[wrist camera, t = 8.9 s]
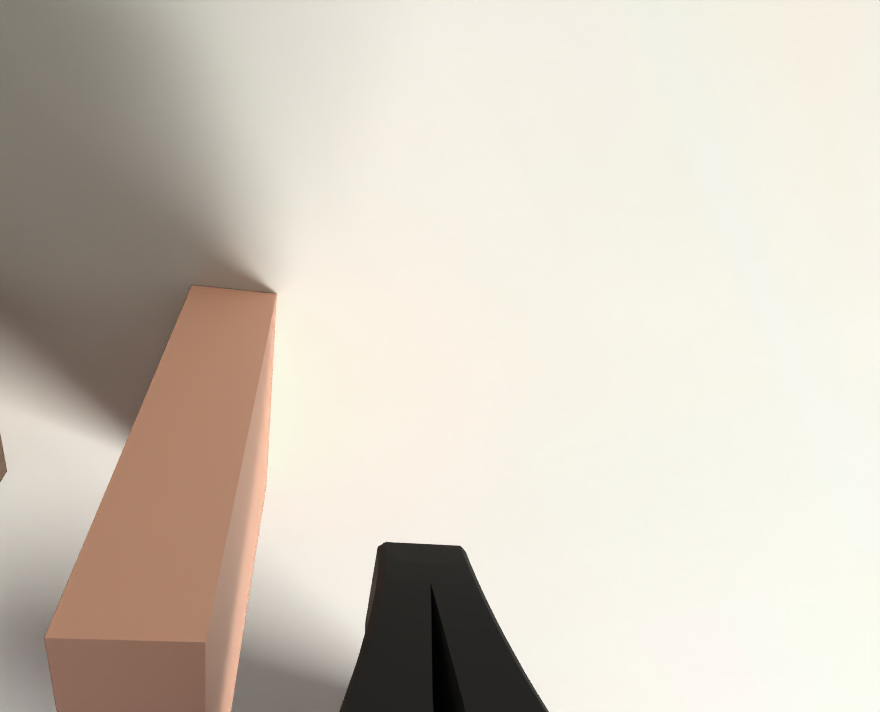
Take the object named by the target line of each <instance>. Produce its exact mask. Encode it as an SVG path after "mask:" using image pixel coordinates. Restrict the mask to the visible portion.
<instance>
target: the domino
mask: <svg viewBox="0 0 880 712" xmlns="http://www.w3.org/2000/svg"><path fill="white" fill-rule="evenodd" d="M6 472H7V468H6V463H5V458H4V452H3V447H2V441H1V436H0V482H1V480H2V479H3V477H4V475H5V474H6Z"/></svg>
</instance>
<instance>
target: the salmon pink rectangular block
mask: <svg viewBox="0 0 880 712" xmlns="http://www.w3.org/2000/svg"><path fill="white" fill-rule="evenodd" d="M276 296H277V294H274V293H264V292H254V291H244V290H234V289H224V288H214V287H204V286H195V285H192V286H191V288H190V291H189V293H188V296H187V298H186V300H185V303H184V305H183V308H182V310H181V312H180V315H179V317H178V320H177V322H176V324H175V327H174V329H173V331H172V334H171V336H170V339H169V341H168V343H167V346H166V348H165V351H164V353H163V355H162V358H161V360H160V363H159V365H158V367H157V370H156V372H155V374H154V377H153V379H152V382H151V384H150V386H149V389H148V391H147V394H146V396H145V398H144V401H143V403H142V406H141V408H140V410H139V413H138V415H137V417H136V420H135V422H134V425H133V427H132V429H131V432H130V434H129V437H128V439H127V441H126V444H125V446H124V449H123V451H122V453H121V456H120V458H119V461H118V463H117V465H116V468H115V470H114V472H113V475H112V477H111V480H110V482H109V484H108V487H107V489H106V492H105V494H104V496H103V499H102V501H101V504H100V506H99V508H98V511H97V513H96V515H95V518H94V520H93V523H92V525H91V527H90V530H89V532H88V535H87V537H86V539H85V542H84V544H83V547H82V549H81V551H80V554H79V556H78V558H77V561H76V563H75V566H74V568H73V570H72V573H71V575H70V578H69V580H68V582H67V585H66V587H65V590H64V592H63V594H62V597H61V599H60V601H59V604H58V606H57V609H56V611H55V613H54V616H53V618H52V621H51V623H50V625H49V628H48V630H47V633H46V635H45V637H44V639H45V645H46V651H47V657H48V663H49V669H50V674H51V680H52V686H53V692H54V698H55V704H56V710H57V712H231V708H232V702H233V696H234V689H235V683H236V676H237V670H238V664H239V657H240V651H241V645H242V638H243V632H244V625H245V619H246V613H247V606H248V600H249V593H250V587H251V581H252V574H253V568H254V561H255V555H256V549H257V542H258V536H259V529H260V523H261V517H262V510H263V504H264V497H265V491H266V481H267V463H268V444H269V426H270V407H271V389H272V370H273V352H274V333H275V315H276Z"/></svg>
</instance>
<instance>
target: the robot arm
mask: <svg viewBox="0 0 880 712" xmlns="http://www.w3.org/2000/svg"><path fill="white" fill-rule="evenodd" d="M339 712H549V711H548V710H547V708H546V707H545V705H544V703H543V702H542V700H541V698H540V697H539V695H538V694H537V692H536V690H535V689H534V687H533V685H532V684H531V682H530V680H529V679H528V677H527V675H526V674H525V672H524V670H523V668H522V666H521V665H520V663H519V661H518V659H517V657H516V656H515V654H514V652H513V650H512V648H511V647H510V645H509V643H508V641H507V639H506V637H505V636H504V634H503V632H502V630H501V628H500V626H499V624H498V622H497V620H496V618H495V616H494V614H493V612H492V610H491V608H490V606H489V604H488V602H487V600H486V598H485V596H484V593H483V591H482V589H481V587H480V585H479V583H478V580H477V578H476V576H475V573H474V571H473V569H472V566H471V564H470V562H469V559H468V557H467V554H466V552H465V550H464V549H463V548H462V547H461V546H452V545H433V544H413V543H393V542H385V543H383V544H382V545H380V546H378V548H377V555H376V561H375V567H374V573H373V579H372V585H371V591H370V598H369V604H368V610H367V616H366V622H365V635H364V639H363V642H362V646H361V650H360V653H359V657H358V660H357V663H356V666H355V669H354V672H353V675H352V677H351V680H350V683H349V686H348V689H347V692H346V694H345V697H344V700H343V703H342V706H341V709H340V711H339Z"/></svg>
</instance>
